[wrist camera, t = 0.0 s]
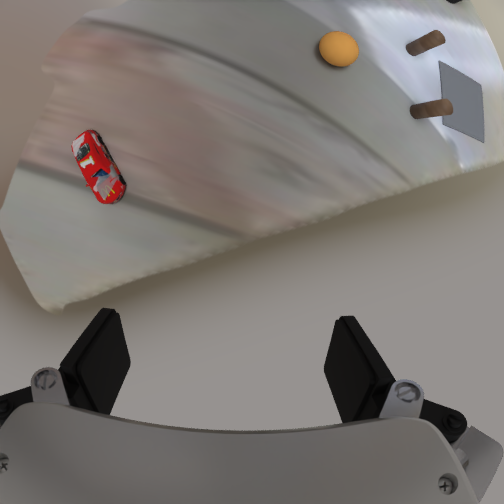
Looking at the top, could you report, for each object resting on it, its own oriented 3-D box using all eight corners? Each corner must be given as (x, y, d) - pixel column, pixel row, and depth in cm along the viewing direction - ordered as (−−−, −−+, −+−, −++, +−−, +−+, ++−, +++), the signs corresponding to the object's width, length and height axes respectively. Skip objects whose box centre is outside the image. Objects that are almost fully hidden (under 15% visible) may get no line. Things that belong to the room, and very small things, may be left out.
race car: (132, 191, 39) (122, 195, 35) (108, 209, 39) (97, 214, 36) (98, 125, 35) (86, 122, 31) (75, 144, 35) (62, 144, 32)
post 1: (405, 42, 31) (432, 27, 22) (416, 46, 31) (444, 33, 22) (406, 53, 32) (434, 39, 23) (417, 57, 32) (446, 45, 23)
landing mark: (438, 60, 32) (439, 60, 31) (480, 85, 32) (481, 85, 32) (442, 124, 36) (443, 124, 36) (483, 142, 37) (484, 142, 37)
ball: (314, 36, 31) (325, 21, 26) (349, 44, 32) (363, 31, 26) (314, 67, 33) (326, 54, 28) (350, 74, 34) (366, 63, 28)
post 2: (409, 103, 35) (441, 96, 27) (420, 107, 35) (452, 101, 27) (409, 116, 36) (442, 112, 27) (421, 120, 36) (453, 117, 28)
